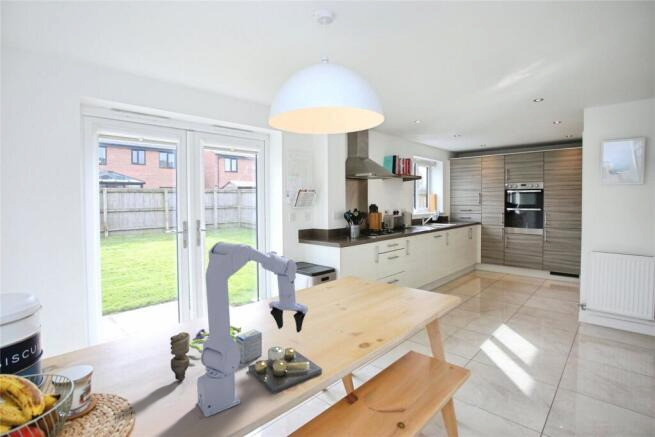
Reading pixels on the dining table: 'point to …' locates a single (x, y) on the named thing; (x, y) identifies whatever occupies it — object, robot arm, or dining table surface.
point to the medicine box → (249, 345)
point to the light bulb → (180, 354)
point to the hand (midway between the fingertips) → (289, 329)
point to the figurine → (203, 333)
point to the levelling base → (276, 383)
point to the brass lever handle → (288, 367)
